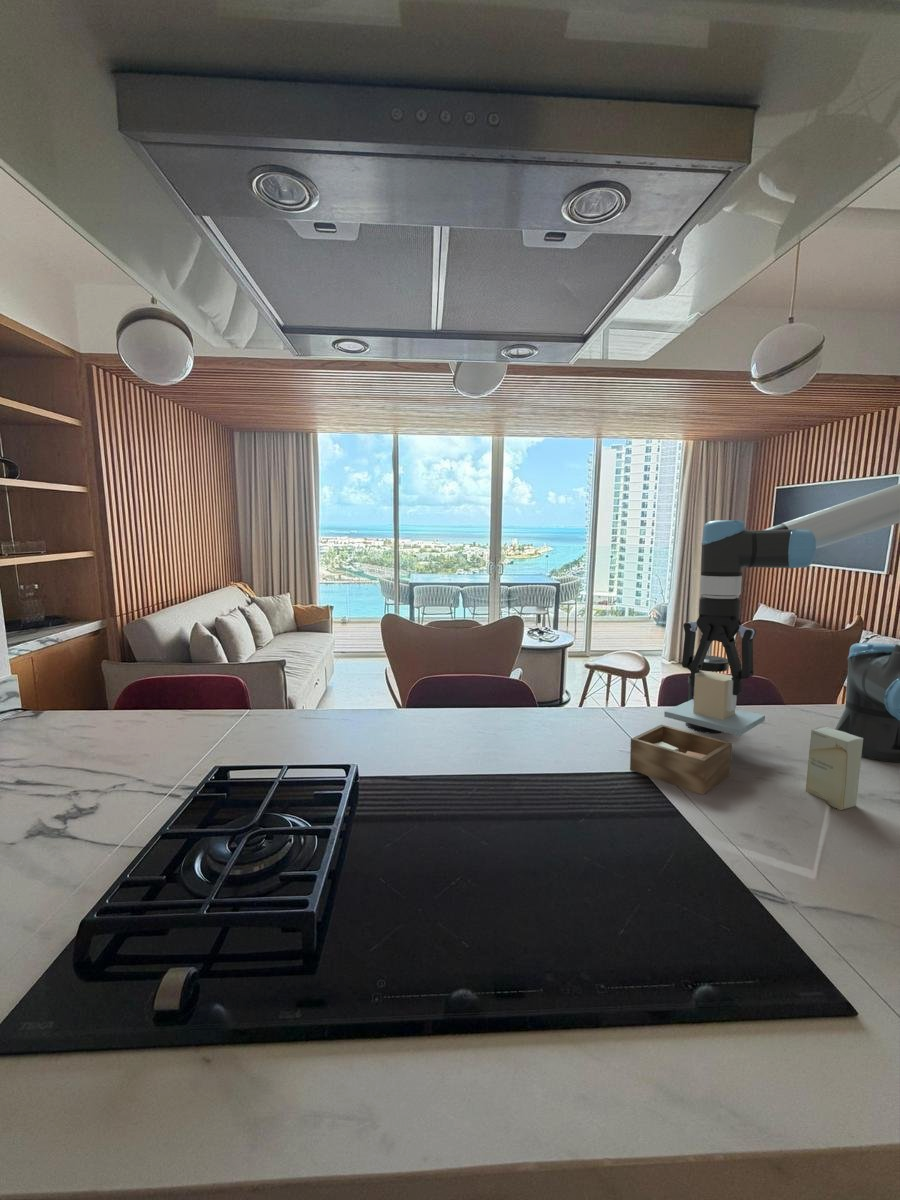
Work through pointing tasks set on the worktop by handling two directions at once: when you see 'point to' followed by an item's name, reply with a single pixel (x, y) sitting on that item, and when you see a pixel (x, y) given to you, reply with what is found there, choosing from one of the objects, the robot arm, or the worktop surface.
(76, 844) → the worktop surface
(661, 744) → the cube cream
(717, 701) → the lid
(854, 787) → the skincare box
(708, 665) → the french press
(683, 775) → the box
